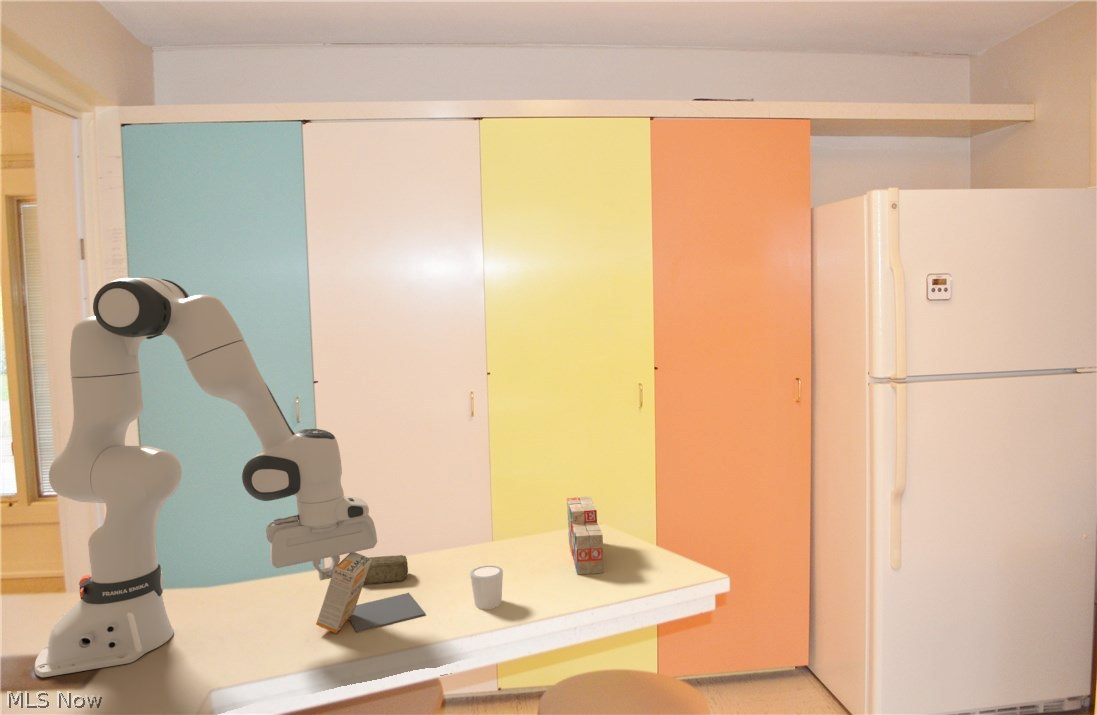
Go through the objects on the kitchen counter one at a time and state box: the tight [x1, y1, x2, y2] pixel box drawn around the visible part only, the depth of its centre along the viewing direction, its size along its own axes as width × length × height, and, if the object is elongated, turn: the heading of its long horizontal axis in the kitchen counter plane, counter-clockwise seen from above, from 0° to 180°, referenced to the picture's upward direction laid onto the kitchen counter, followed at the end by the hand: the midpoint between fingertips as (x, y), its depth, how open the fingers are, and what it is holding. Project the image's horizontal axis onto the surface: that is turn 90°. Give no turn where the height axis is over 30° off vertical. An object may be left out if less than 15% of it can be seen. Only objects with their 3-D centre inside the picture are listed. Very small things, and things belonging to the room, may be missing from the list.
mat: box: [348, 592, 426, 633], centre depth 145 cm, size 14×12×1 cm
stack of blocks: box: [566, 496, 604, 575], centre depth 170 cm, size 21×6×12 cm, turn 4°
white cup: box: [469, 565, 504, 610], centre depth 147 cm, size 7×7×7 cm
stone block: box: [363, 554, 409, 585], centre depth 163 cm, size 6×12×5 cm, turn 95°
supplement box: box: [315, 552, 372, 634], centre depth 139 cm, size 8×5×13 cm, turn 171°
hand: (327, 578), depth 139 cm, fingers closed
